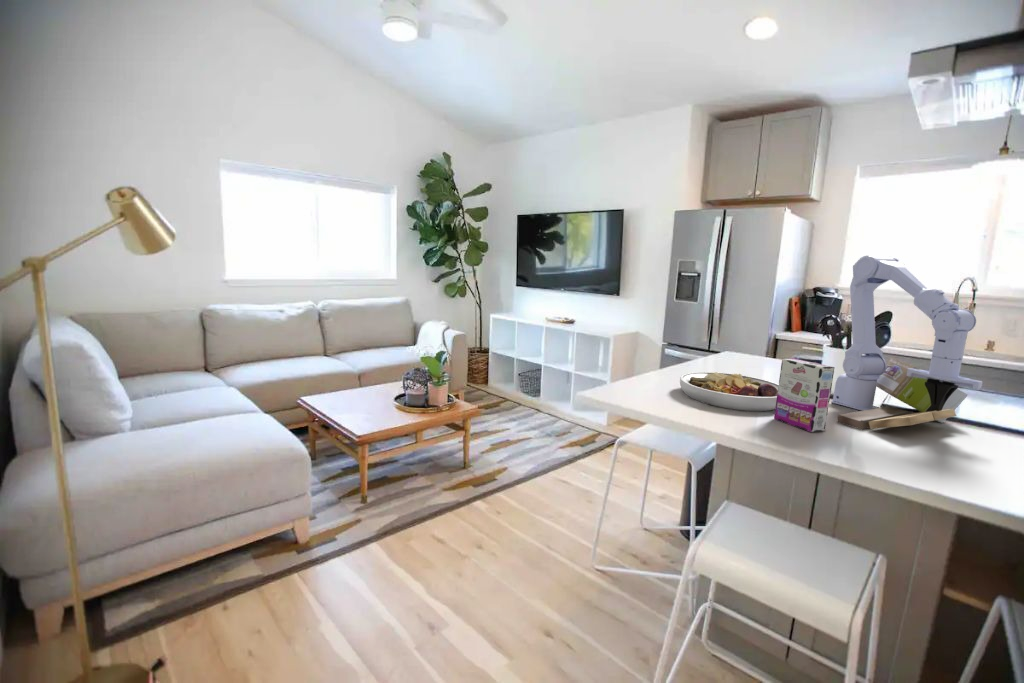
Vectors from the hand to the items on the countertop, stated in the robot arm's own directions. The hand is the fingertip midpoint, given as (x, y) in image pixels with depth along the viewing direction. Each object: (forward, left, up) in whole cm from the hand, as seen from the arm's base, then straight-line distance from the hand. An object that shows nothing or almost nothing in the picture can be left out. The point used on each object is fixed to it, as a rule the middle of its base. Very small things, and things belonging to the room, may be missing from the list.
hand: (936, 410), depth 122 cm
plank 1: (-2, -11, -3) cm, 12 cm away
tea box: (-6, +18, -2) cm, 19 cm away
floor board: (-10, -6, -6) cm, 13 cm away
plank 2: (-2, 0, -3) cm, 4 cm away
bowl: (-39, -27, -6) cm, 48 cm away
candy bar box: (-15, -31, -6) cm, 35 cm away
